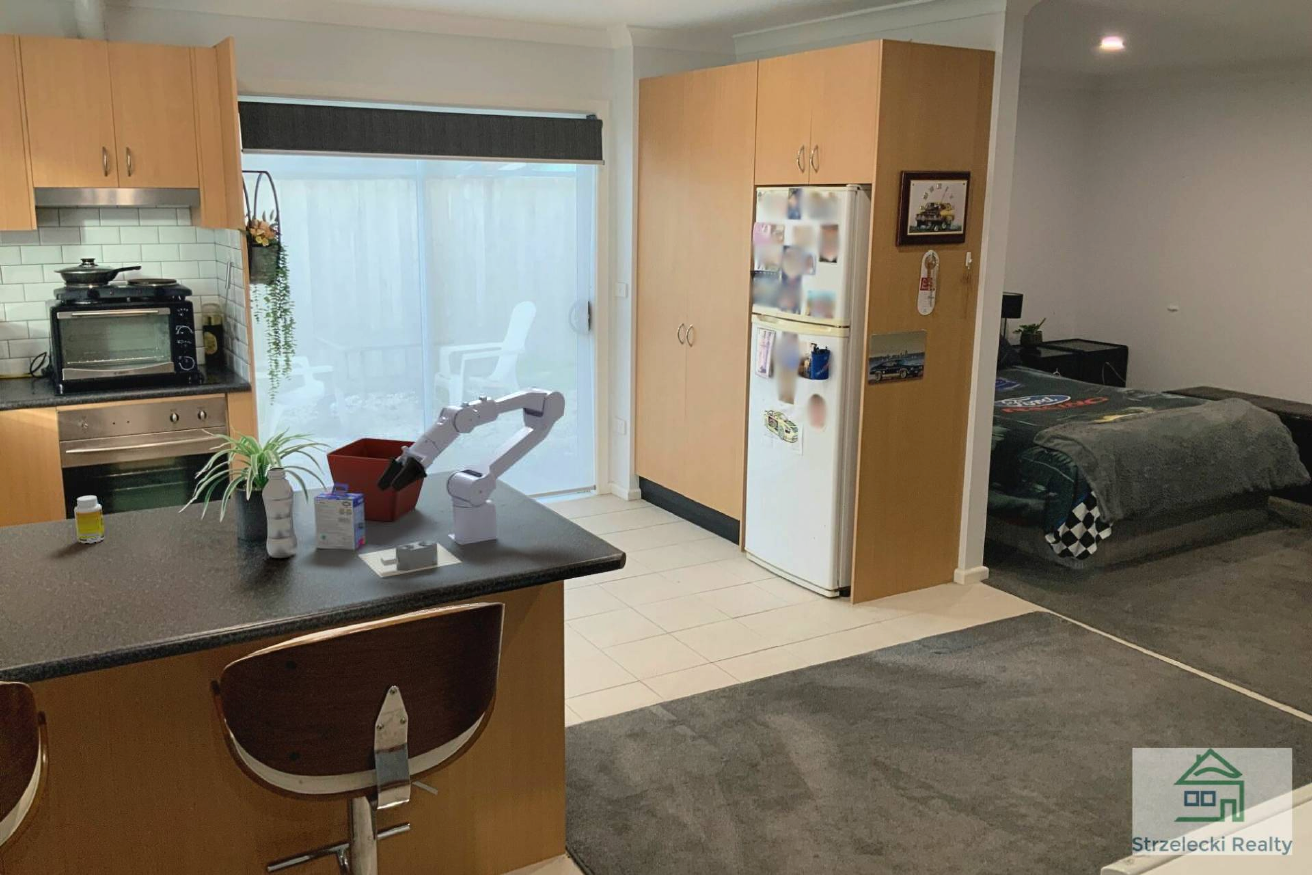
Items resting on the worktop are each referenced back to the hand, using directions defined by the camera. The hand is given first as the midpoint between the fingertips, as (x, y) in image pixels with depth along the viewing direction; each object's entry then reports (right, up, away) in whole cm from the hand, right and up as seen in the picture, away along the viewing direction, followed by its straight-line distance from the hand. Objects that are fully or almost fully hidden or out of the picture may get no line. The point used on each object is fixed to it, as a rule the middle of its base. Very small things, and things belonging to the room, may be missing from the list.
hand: (386, 488), depth 227 cm
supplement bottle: (-72, -13, +15) cm, 74 cm away
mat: (+4, -16, +4) cm, 17 cm away
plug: (+5, -17, -1) cm, 18 cm away
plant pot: (-11, -8, +38) cm, 40 cm away
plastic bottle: (-25, -16, +6) cm, 30 cm away
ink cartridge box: (-14, -14, +13) cm, 24 cm away
